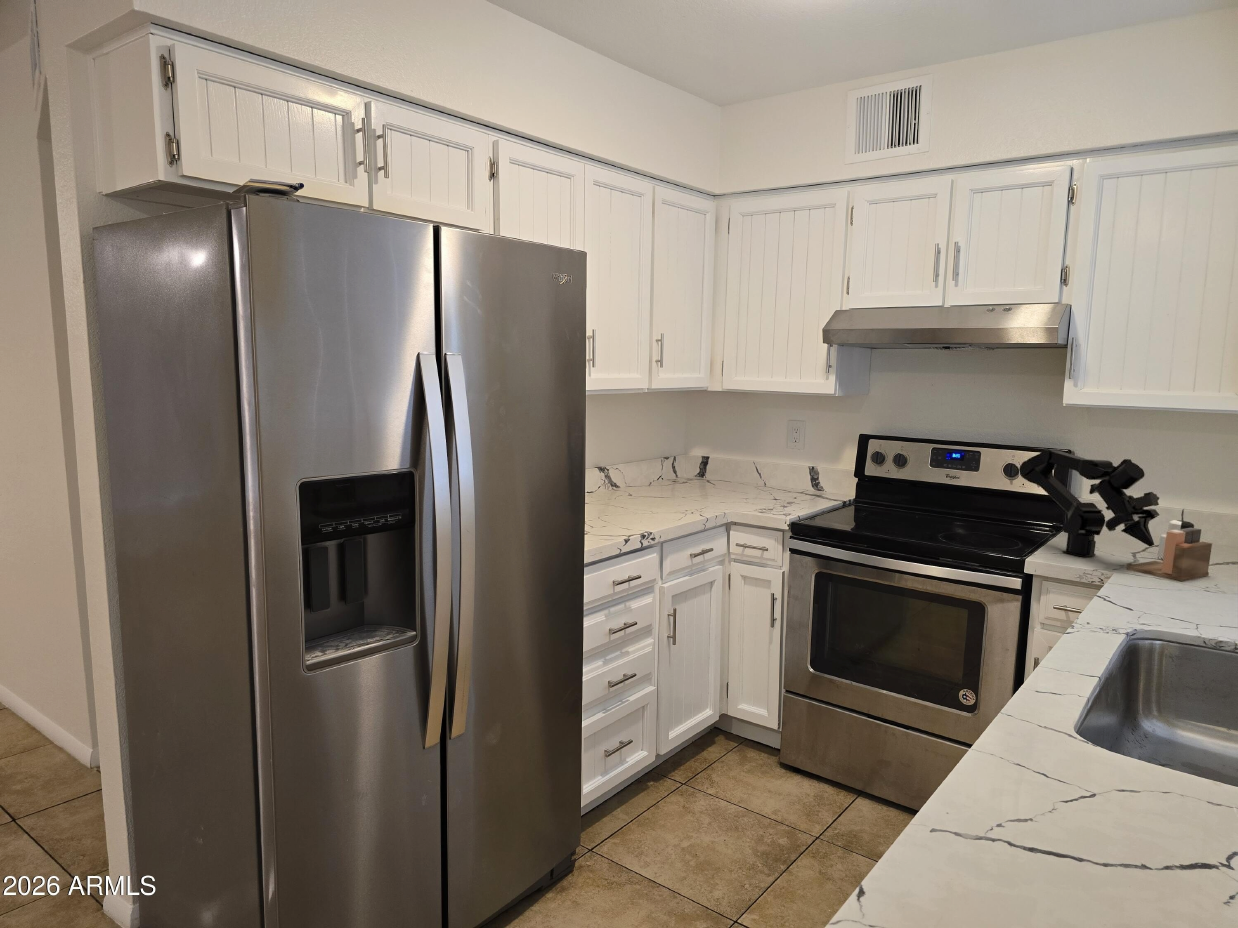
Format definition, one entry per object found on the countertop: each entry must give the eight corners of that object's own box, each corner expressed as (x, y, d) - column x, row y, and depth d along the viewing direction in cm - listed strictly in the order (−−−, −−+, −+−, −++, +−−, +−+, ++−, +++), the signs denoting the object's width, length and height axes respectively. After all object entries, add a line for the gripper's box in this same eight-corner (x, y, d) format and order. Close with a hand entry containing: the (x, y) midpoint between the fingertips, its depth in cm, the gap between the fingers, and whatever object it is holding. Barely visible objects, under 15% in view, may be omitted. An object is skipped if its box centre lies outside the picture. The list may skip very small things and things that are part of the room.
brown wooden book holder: (1126, 569, 223) (1132, 525, 222) (1154, 563, 232) (1160, 521, 230) (1181, 581, 212) (1187, 535, 210) (1208, 575, 220) (1214, 531, 219)
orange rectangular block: (1161, 571, 216) (1167, 530, 215) (1169, 570, 219) (1175, 529, 217) (1171, 574, 214) (1177, 532, 213) (1179, 572, 217) (1185, 531, 215)
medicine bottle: (1182, 559, 240) (1187, 519, 238) (1196, 565, 233) (1202, 524, 231) (1156, 557, 240) (1162, 518, 239) (1170, 563, 233) (1176, 522, 232)
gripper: (1123, 483, 217) (1162, 532, 210) (1156, 480, 227) (1194, 527, 220) (1089, 506, 225) (1125, 554, 217) (1122, 502, 235) (1158, 548, 228)
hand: (1152, 545), depth 220 cm, fingers closed
